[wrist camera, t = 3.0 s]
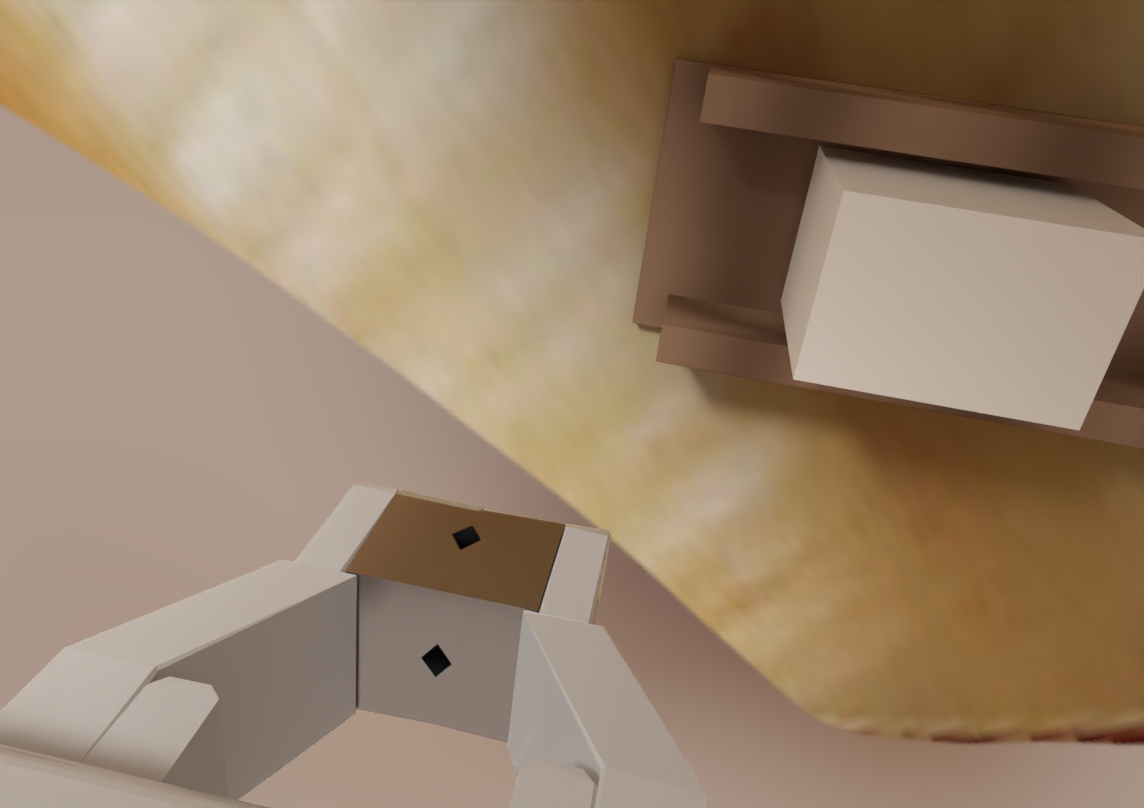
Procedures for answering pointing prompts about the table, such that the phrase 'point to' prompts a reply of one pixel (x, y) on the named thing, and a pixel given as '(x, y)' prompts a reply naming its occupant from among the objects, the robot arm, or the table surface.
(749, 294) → the chute
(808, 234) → the block
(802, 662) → the table surface
